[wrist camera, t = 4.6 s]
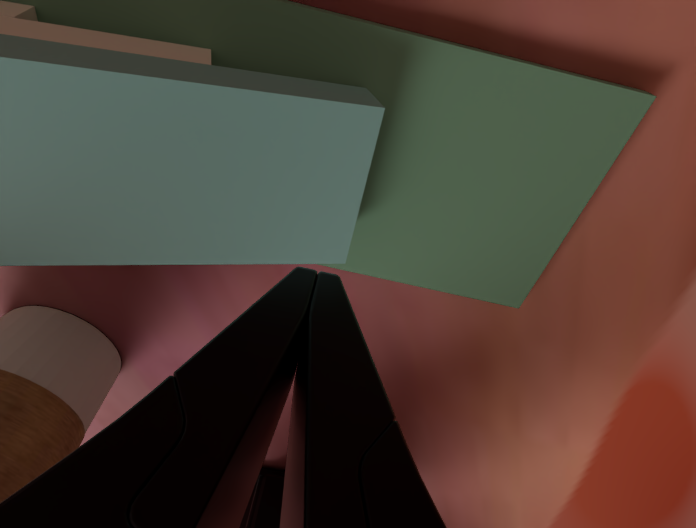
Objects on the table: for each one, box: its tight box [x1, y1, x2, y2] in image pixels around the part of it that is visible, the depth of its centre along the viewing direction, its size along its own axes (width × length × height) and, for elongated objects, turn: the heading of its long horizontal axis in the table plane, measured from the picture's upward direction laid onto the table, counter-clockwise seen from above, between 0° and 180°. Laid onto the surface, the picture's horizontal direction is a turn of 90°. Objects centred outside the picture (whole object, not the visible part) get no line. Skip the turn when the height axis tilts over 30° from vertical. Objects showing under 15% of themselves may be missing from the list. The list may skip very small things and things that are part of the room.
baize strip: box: [1, 0, 656, 308], centre depth 13 cm, size 8×26×1 cm, turn 78°
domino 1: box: [0, 16, 211, 65], centre depth 10 cm, size 5×2×10 cm
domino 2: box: [0, 34, 385, 266], centre depth 10 cm, size 5×2×10 cm
